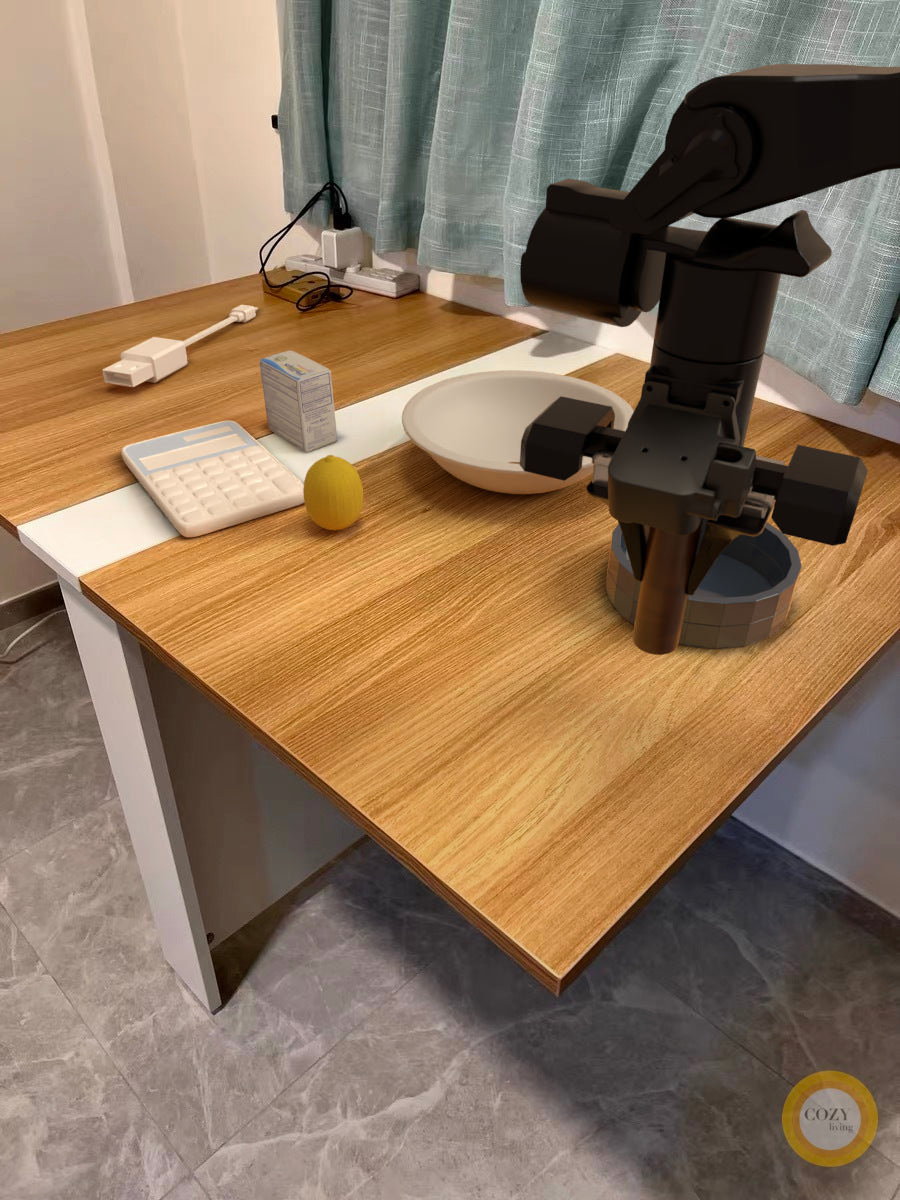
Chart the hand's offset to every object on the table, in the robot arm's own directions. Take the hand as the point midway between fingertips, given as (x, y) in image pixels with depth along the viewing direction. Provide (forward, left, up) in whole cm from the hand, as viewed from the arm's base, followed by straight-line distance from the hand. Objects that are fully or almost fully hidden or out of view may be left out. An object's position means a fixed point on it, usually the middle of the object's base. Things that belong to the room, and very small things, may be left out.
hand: (665, 584), depth 56 cm
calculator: (+51, -13, -13) cm, 54 cm away
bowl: (+1, -17, -12) cm, 22 cm away
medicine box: (+49, -26, -13) cm, 57 cm away
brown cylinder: (0, 0, -4) cm, 4 cm away
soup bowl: (+24, -30, -13) cm, 41 cm away
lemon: (+34, -11, -13) cm, 38 cm away
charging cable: (+78, -40, -13) cm, 89 cm away
